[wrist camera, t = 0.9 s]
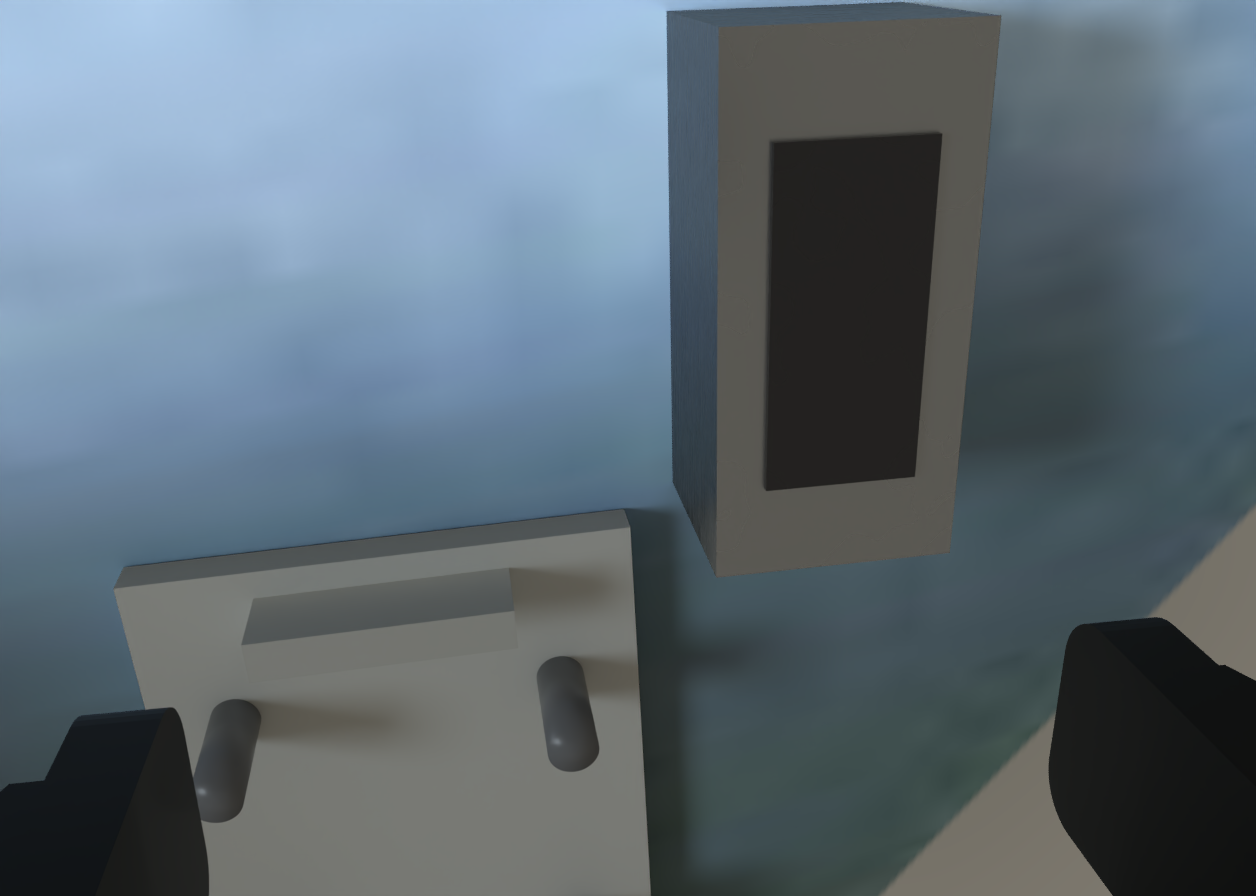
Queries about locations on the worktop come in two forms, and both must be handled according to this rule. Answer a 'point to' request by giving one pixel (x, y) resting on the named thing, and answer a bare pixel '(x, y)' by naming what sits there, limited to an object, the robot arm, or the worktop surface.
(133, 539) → the worktop surface
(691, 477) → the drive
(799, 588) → the worktop surface
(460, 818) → the tray
